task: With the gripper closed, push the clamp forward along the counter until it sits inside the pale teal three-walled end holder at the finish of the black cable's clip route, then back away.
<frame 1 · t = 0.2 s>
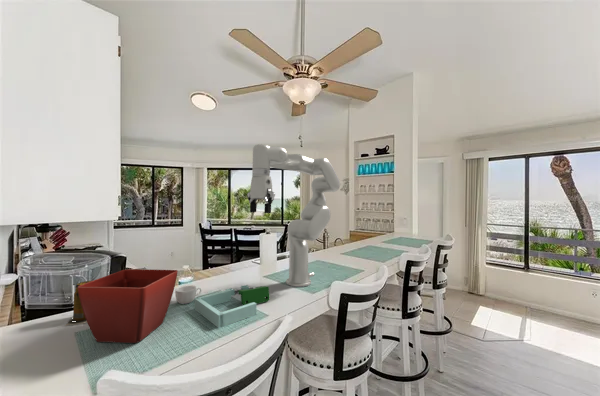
hand: (260, 212, 112), 36 cm above the kitchen counter, tool pointing down, fingers open, 9 cm apart
clamp: (253, 302, 104), on the kitchen counter
clip 1: (244, 291, 115), on the kitchen counter
condiment: (83, 319, 87), on the kitchen counter
clip 3: (217, 300, 105), on the kitchen counter
clip 2: (229, 295, 111), resting in cable
cable: (298, 282, 129), resting on clip 1
teacup: (188, 301, 104), on the kitchen counter
plant pot: (131, 332, 79), on the kitchen counter
end holder: (225, 311, 94), on the kitchen counter
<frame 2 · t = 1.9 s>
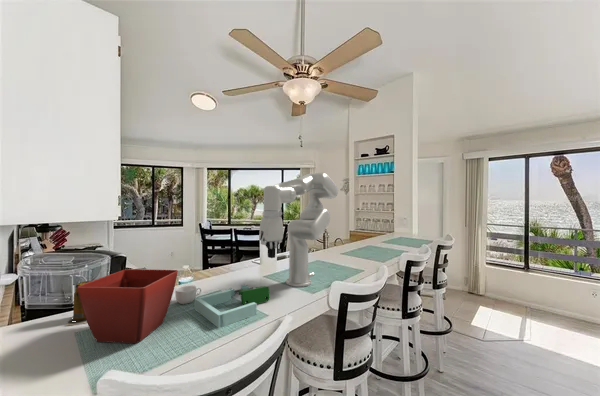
hand: (271, 257, 110), 17 cm above the kitchen counter, tool pointing down, fingers closed
nothing on the kitchen counter moved.
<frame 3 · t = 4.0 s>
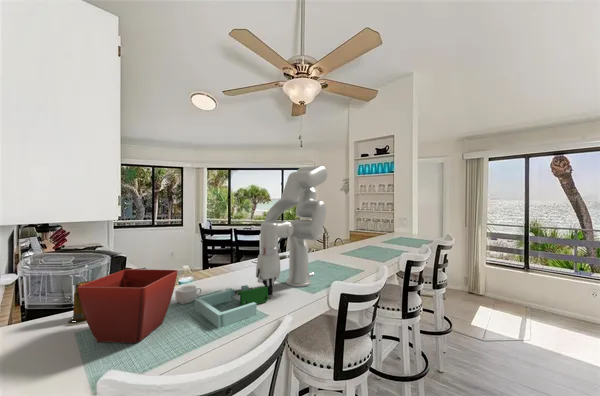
hand: (268, 294, 109), 1 cm above the kitchen counter, tool pointing down, fingers closed
clamp: (252, 302, 103), on the kitchen counter, touching gripper
everything else where it was.
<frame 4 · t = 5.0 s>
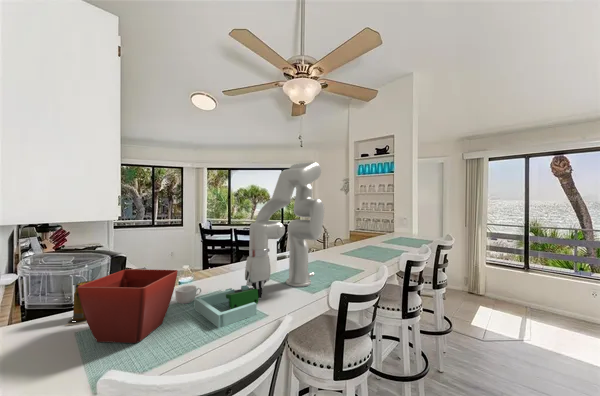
hand: (258, 297, 106), 1 cm above the kitchen counter, tool pointing down, fingers closed
clamp: (241, 306, 100), on the kitchen counter, touching gripper
everything else where it was.
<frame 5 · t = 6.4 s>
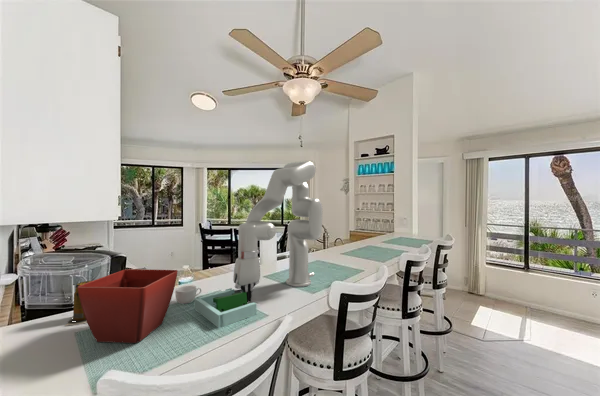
hand: (247, 300, 102), 1 cm above the kitchen counter, tool pointing down, fingers closed
clamp: (229, 310, 97), on the kitchen counter
everything else where it was.
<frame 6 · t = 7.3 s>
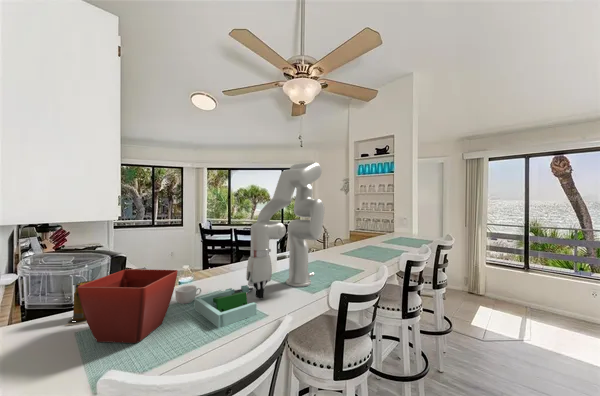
hand: (259, 297, 106), 1 cm above the kitchen counter, tool pointing down, fingers closed
nothing on the kitchen counter moved.
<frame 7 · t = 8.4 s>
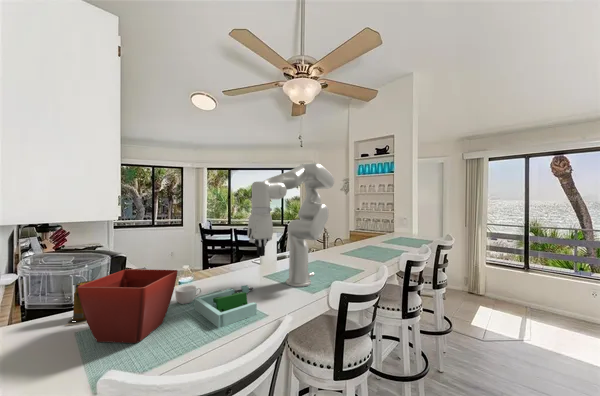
hand: (260, 255, 107), 18 cm above the kitchen counter, tool pointing down, fingers closed
nothing on the kitchen counter moved.
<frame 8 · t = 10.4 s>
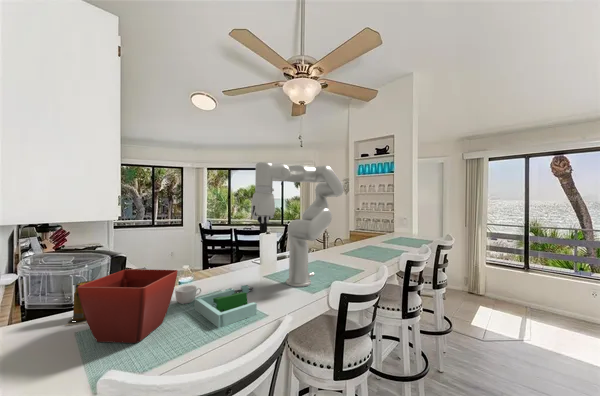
hand: (263, 231, 114), 27 cm above the kitchen counter, tool pointing down, fingers closed
nothing on the kitchen counter moved.
at the end: clamp inside the target area on the end holder (0.9 cm from its centre), point 0.0 cm above the end holder's base; clamp moved 10.8 cm from its start; the gripper is holding nothing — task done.
